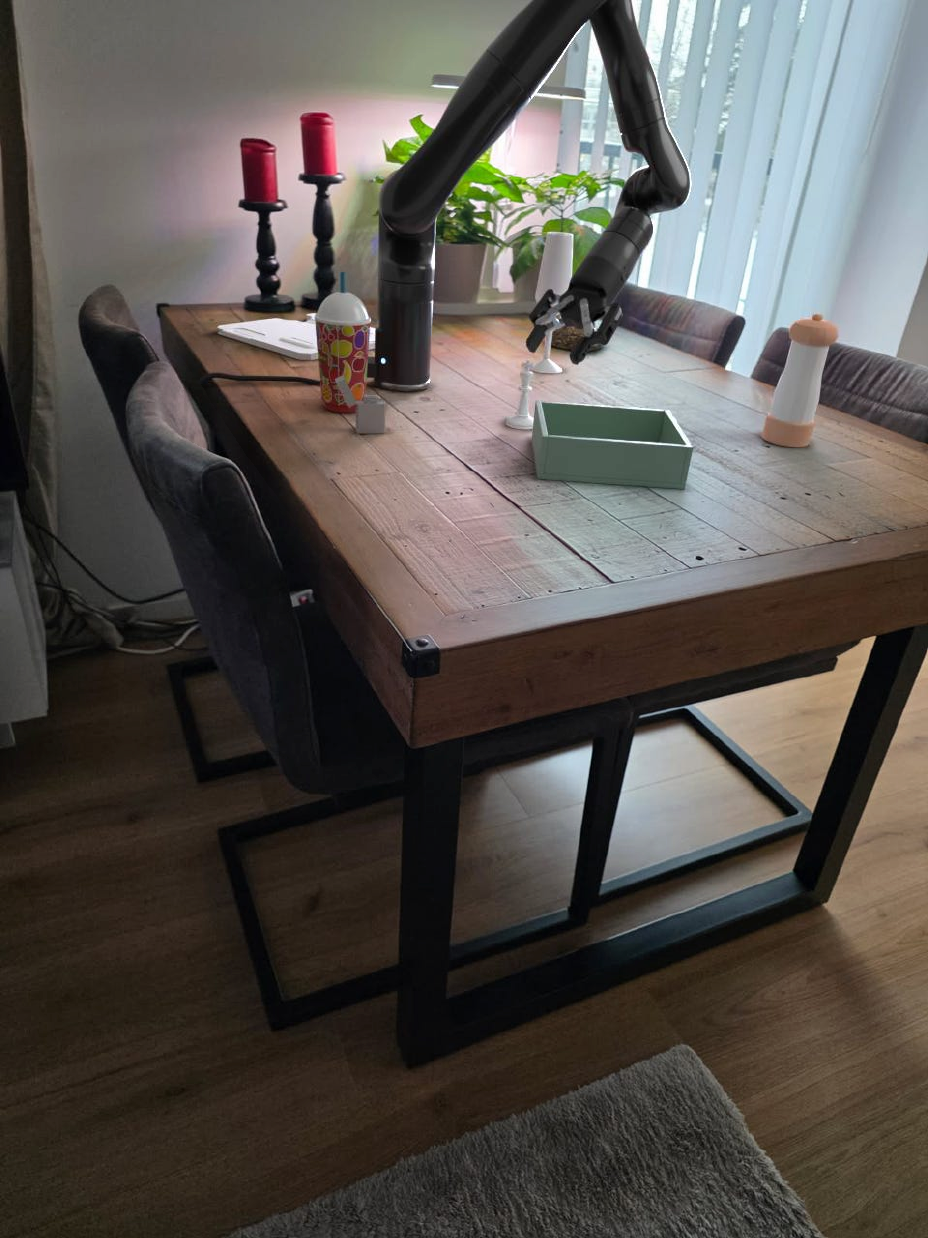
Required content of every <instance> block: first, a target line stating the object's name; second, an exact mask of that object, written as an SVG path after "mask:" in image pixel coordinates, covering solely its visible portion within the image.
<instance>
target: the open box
mask: <svg viewBox="0 0 928 1238" xmlns="http://www.w3.org/2000/svg"><path fill="white" fill-rule="evenodd" d="M533 412H534V413H533V418H534V420H533V429H531V445H532V446H531V447H532V452H533V458H534V465H535V470H536V478H537V479H538V480H548V481H561V482H562V481H564V482H575V483H576V482H577V483H590V484H603V485H604V484H605V485H617V486H618V485H621V486H631V487H632V486H634V487H646V488H661V489H676V490H685V489H686V487H687V486H686V485H687V481H688V475H689V472H690V466H691V462H692V457H693V452H694V446H693V444H692V443H691V441H690V440H689V437H687V435H686V434H685V432H684V431H683V429H682V428H681V426H680V424H679V422H678V421H677V420H676V418H675V417H674V414H672V412H671V411H670V410H669V409H659V408H658V409H657V408H656V409H655V408H645V407H644V408H643V407H641V408H640V407H629V406H615V405H604V404H603V405H601V404H589V403H575V402H562V401H547V400H546V401H545V400H535V403H534V411H533Z"/></svg>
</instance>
